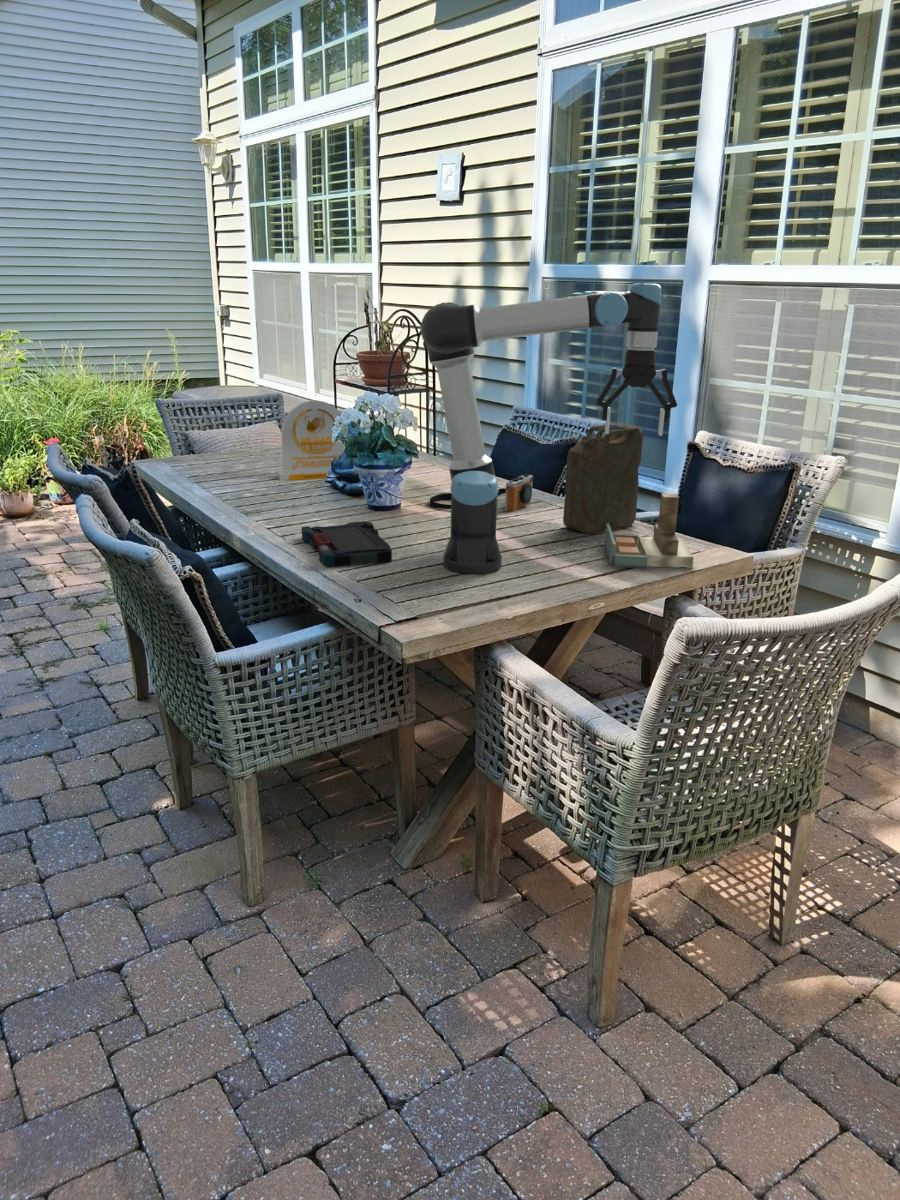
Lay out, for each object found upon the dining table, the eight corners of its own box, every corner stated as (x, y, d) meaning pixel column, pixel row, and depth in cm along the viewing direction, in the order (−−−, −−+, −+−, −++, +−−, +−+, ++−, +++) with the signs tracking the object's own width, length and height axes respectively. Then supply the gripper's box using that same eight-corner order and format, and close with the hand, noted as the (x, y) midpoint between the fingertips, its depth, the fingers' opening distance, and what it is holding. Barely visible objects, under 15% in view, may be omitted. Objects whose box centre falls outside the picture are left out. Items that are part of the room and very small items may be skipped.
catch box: (611, 566, 231) (613, 544, 229) (604, 544, 251) (606, 523, 249) (646, 567, 230) (648, 545, 228) (636, 545, 250) (638, 524, 248)
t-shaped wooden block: (661, 554, 231) (667, 502, 227) (653, 538, 246) (658, 488, 242) (677, 555, 231) (682, 502, 226) (667, 538, 246) (673, 489, 241)
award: (280, 480, 321) (276, 403, 312) (277, 475, 329) (273, 400, 319) (356, 477, 329) (355, 401, 320) (351, 472, 337) (350, 398, 328)
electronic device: (325, 570, 225) (325, 551, 224) (299, 538, 253) (299, 521, 251) (399, 563, 232) (399, 544, 230) (366, 532, 260) (366, 516, 258)
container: (615, 518, 278) (624, 422, 268) (638, 526, 270) (647, 426, 260) (559, 527, 267) (565, 427, 257) (581, 535, 259) (588, 432, 249)
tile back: (616, 550, 242) (616, 541, 242) (614, 545, 247) (615, 536, 246) (634, 551, 242) (635, 542, 241) (632, 546, 247) (633, 537, 246)
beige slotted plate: (645, 566, 232) (646, 555, 231) (637, 546, 249) (638, 536, 248) (692, 568, 231) (693, 557, 230) (681, 548, 248) (682, 538, 247)
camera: (508, 519, 276) (509, 488, 272) (422, 507, 288) (422, 477, 285) (542, 500, 301) (543, 470, 298) (461, 490, 314) (462, 461, 310)
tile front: (619, 560, 234) (620, 551, 233) (617, 555, 238) (618, 546, 238) (638, 561, 233) (639, 552, 233) (636, 556, 238) (637, 547, 237)
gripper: (689, 349, 225) (680, 433, 232) (589, 346, 227) (583, 430, 234) (694, 351, 218) (684, 437, 225) (591, 348, 220) (585, 434, 227)
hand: (633, 434), depth 229 cm, fingers open, 13 cm apart
